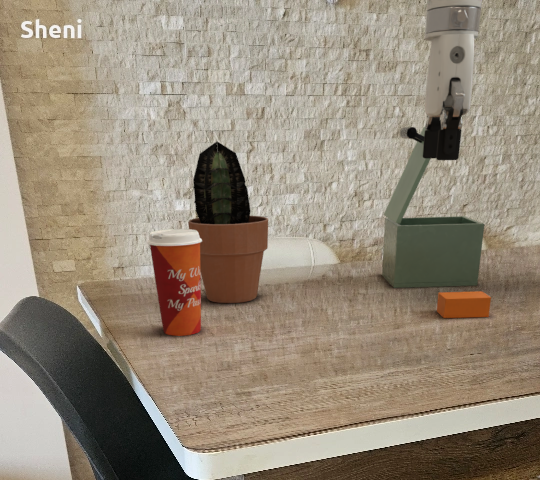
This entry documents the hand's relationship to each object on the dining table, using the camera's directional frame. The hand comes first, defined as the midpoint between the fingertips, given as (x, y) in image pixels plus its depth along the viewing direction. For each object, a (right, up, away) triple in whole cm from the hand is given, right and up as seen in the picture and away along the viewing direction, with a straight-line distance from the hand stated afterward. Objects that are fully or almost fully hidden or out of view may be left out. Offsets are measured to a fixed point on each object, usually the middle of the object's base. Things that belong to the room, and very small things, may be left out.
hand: (439, 159), depth 103 cm
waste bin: (+4, -11, +26) cm, 29 cm away
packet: (+4, -24, +2) cm, 24 cm away
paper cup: (-39, -27, -3) cm, 48 cm away
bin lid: (0, +5, +18) cm, 18 cm away
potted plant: (-33, -17, +16) cm, 41 cm away
